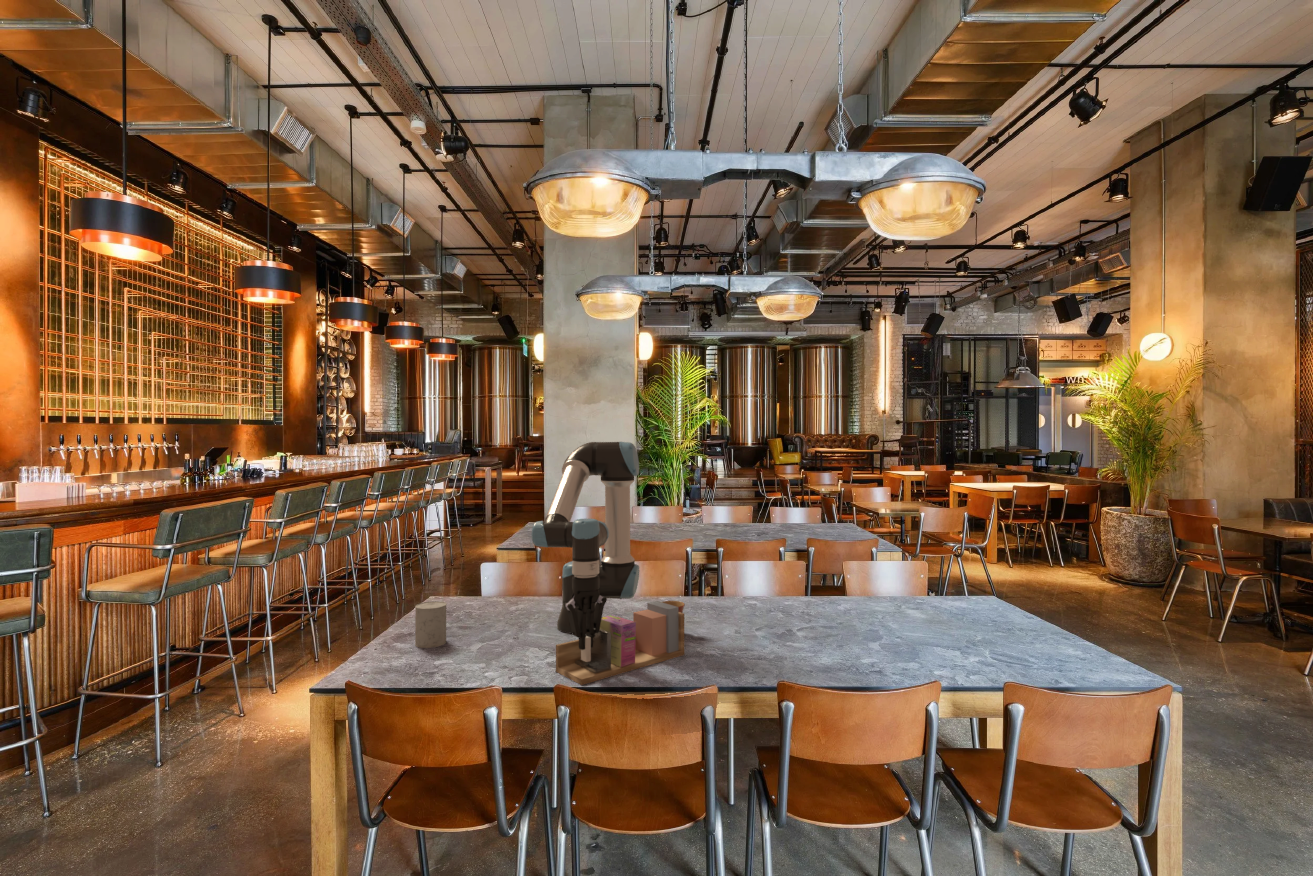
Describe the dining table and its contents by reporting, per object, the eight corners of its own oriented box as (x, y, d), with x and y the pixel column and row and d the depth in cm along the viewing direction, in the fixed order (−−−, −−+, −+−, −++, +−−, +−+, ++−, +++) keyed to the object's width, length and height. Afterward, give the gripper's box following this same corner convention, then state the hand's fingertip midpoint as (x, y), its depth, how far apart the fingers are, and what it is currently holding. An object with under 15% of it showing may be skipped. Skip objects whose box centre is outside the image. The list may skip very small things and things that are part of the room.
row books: (633, 648, 190) (633, 605, 190) (657, 642, 196) (657, 600, 196) (654, 657, 182) (654, 612, 183) (678, 650, 189) (678, 607, 189)
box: (636, 663, 178) (636, 621, 178) (621, 668, 174) (621, 625, 174) (612, 654, 185) (612, 614, 185) (597, 659, 181) (597, 618, 181)
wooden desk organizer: (555, 671, 175) (555, 626, 175) (656, 644, 199) (656, 605, 199) (581, 685, 165) (581, 637, 165) (684, 655, 189) (684, 613, 189)
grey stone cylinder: (452, 641, 203) (453, 603, 203) (430, 649, 194) (431, 610, 194) (430, 637, 207) (431, 600, 207) (408, 645, 198) (408, 606, 198)
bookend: (575, 663, 177) (575, 628, 177) (590, 659, 180) (590, 624, 180) (595, 673, 169) (595, 636, 169) (610, 669, 172) (610, 632, 172)
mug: (661, 630, 215) (661, 600, 215) (686, 631, 213) (686, 601, 213) (654, 640, 203) (654, 609, 203) (680, 642, 201) (680, 610, 201)
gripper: (573, 580, 166) (573, 669, 166) (612, 574, 175) (612, 658, 174) (558, 576, 172) (558, 661, 172) (597, 570, 180) (597, 651, 180)
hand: (585, 660), depth 173 cm, fingers closed
